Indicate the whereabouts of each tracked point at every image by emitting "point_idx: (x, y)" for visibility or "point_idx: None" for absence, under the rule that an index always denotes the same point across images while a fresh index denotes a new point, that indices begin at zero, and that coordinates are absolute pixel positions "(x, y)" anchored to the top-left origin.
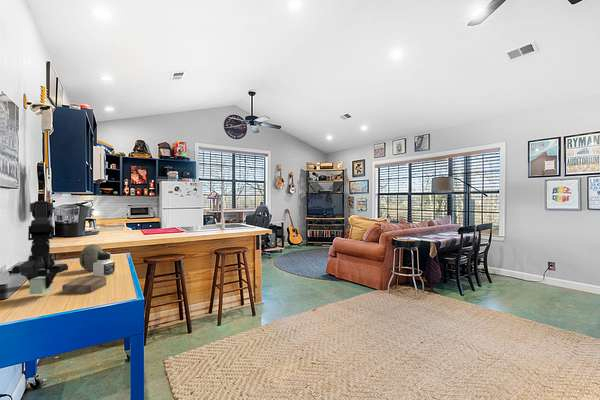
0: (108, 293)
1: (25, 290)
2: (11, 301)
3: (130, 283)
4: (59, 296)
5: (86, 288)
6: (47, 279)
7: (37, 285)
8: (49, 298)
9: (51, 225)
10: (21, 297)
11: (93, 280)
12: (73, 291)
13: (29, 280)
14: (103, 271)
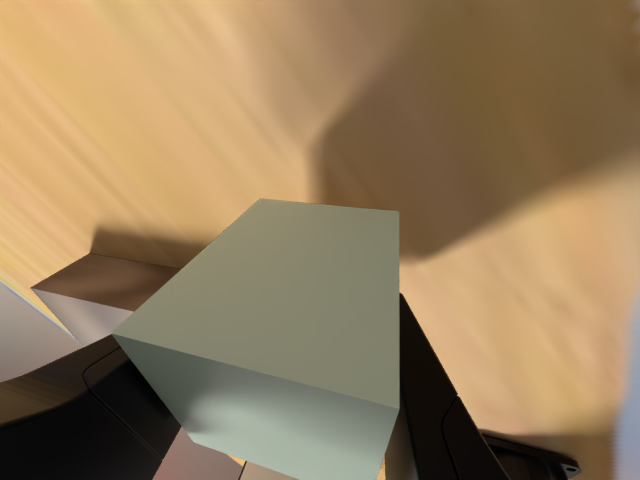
0: (2, 228)
1: (566, 398)
2: (581, 109)
3: None
4: (196, 217)
5: (80, 276)
6: (107, 346)
7: (266, 266)
8: (225, 178)
9: None
10: (514, 243)
11: None
12: (166, 275)
13: (449, 420)
14: (245, 467)
